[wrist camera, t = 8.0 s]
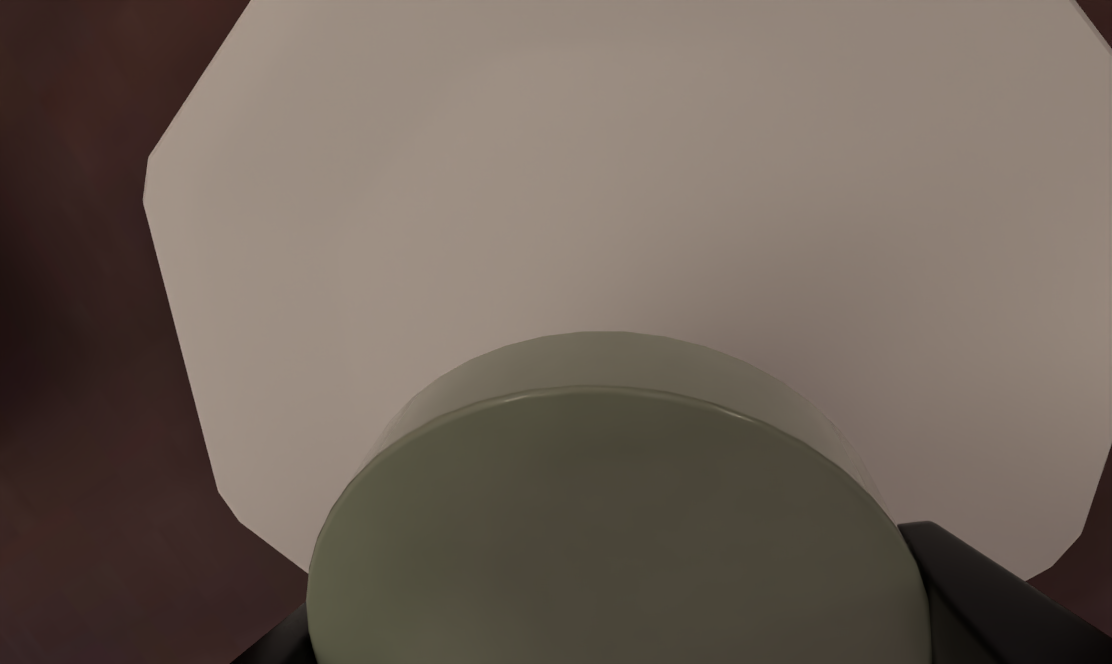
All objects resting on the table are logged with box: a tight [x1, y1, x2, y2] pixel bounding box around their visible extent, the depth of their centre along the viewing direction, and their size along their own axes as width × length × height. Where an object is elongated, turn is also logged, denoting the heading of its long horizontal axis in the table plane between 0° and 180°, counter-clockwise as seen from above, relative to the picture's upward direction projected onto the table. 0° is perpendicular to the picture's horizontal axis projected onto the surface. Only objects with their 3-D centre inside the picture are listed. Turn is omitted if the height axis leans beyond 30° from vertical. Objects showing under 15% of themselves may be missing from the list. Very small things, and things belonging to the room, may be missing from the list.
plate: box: [143, 0, 1112, 581], centre depth 15 cm, size 20×20×2 cm
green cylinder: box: [306, 331, 932, 664], centre depth 9 cm, size 7×7×2 cm
